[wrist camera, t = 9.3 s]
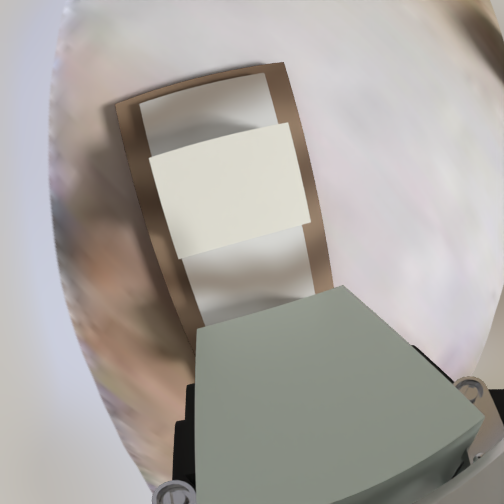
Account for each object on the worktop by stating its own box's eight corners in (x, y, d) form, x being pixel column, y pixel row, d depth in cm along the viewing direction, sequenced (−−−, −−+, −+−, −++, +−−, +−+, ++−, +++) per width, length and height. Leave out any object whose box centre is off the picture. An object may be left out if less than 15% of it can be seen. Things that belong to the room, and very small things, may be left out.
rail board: (120, 108, 19) (110, 101, 17) (279, 68, 20) (286, 57, 18) (222, 407, 28) (224, 423, 26) (338, 372, 29) (347, 386, 26)
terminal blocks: (160, 160, 19) (148, 158, 15) (273, 131, 19) (288, 122, 15) (233, 381, 24) (238, 412, 20) (319, 355, 25) (335, 382, 21)
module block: (196, 328, 11) (197, 530, 3) (343, 285, 11) (485, 416, 4) (232, 412, 12) (259, 565, 5) (351, 374, 13) (436, 499, 5)
